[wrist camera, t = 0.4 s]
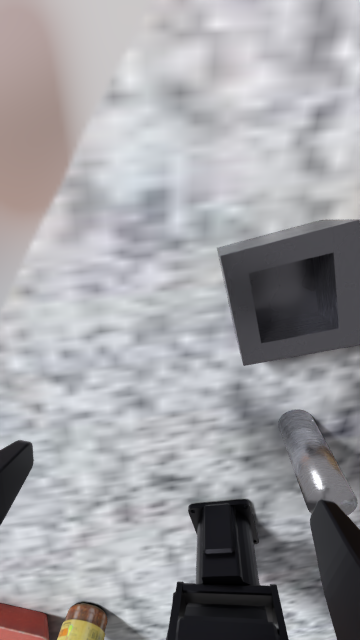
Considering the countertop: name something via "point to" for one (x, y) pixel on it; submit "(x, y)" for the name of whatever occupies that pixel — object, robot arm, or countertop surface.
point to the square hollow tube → (295, 290)
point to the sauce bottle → (84, 623)
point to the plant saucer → (22, 624)
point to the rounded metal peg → (314, 462)
